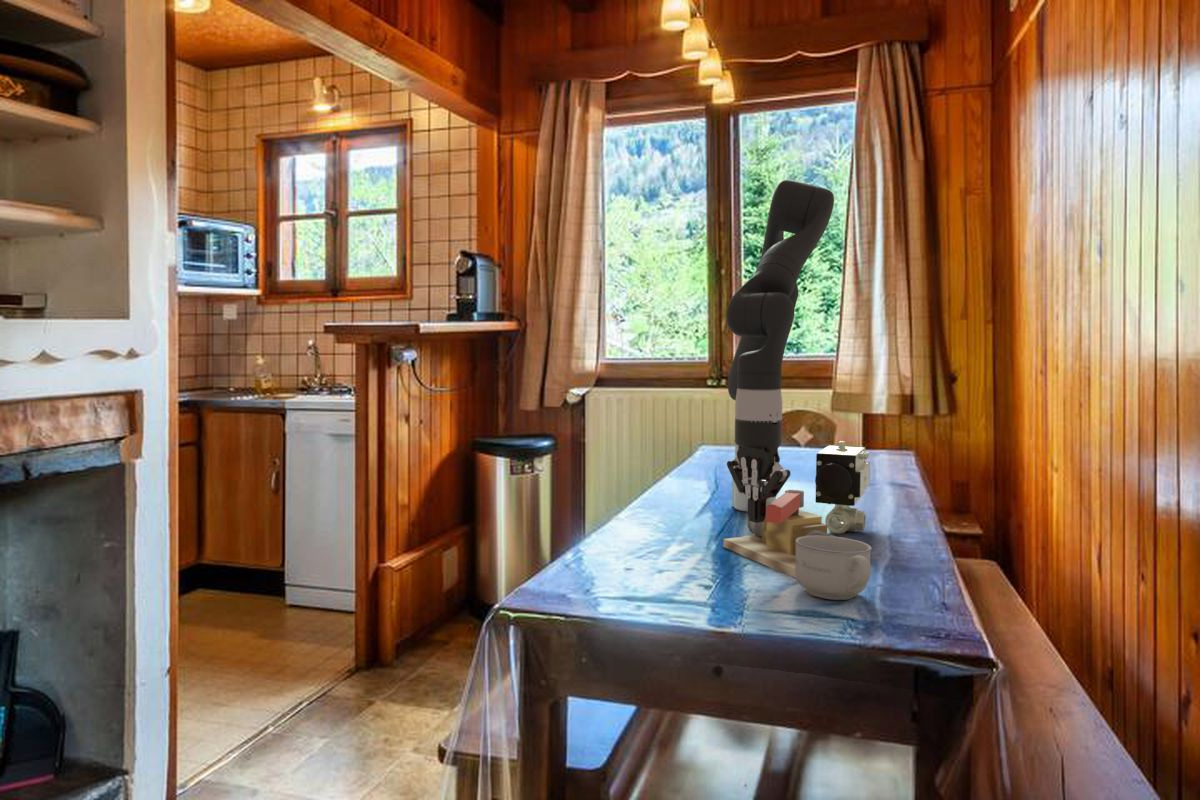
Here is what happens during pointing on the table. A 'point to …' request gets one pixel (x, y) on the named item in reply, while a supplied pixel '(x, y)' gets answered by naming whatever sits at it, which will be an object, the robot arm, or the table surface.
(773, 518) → the lever
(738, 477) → the robot arm
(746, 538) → the valve fixture
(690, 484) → the table surface
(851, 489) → the ball valve
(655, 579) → the table surface
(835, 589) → the teacup
